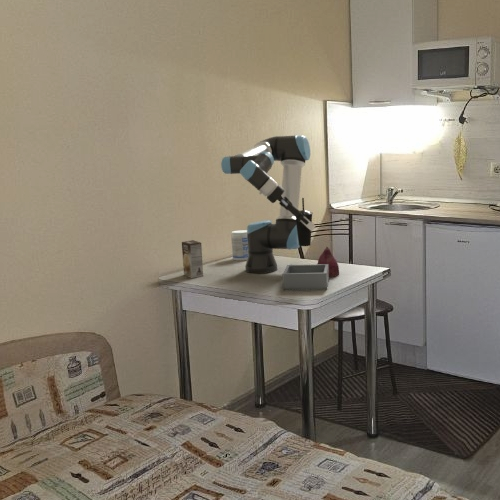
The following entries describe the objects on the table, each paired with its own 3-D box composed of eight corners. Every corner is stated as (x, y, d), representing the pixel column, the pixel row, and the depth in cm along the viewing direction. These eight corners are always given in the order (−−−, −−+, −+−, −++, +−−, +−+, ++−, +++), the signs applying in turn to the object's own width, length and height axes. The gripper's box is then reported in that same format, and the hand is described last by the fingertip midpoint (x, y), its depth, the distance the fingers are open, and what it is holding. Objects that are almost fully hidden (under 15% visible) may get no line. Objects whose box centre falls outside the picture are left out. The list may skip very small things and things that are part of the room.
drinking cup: (294, 244, 296) (292, 197, 293) (312, 243, 297) (310, 196, 294) (297, 247, 289) (295, 199, 286) (315, 246, 290) (313, 198, 286)
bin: (287, 280, 307) (287, 265, 306) (329, 279, 304) (328, 264, 303) (283, 290, 289) (282, 274, 288) (327, 289, 286) (326, 273, 285)
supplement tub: (247, 261, 354) (245, 233, 351) (229, 261, 357) (228, 232, 355) (253, 257, 363) (252, 229, 360) (236, 257, 366) (235, 229, 364)
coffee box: (183, 275, 330) (180, 241, 327) (195, 273, 333) (193, 239, 330) (191, 278, 322) (189, 244, 319) (204, 276, 326) (201, 242, 323)
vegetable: (337, 284, 309) (340, 253, 302) (314, 281, 311) (316, 251, 304) (339, 273, 318) (342, 243, 312) (317, 270, 320) (319, 241, 314)
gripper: (264, 195, 299) (304, 230, 302) (266, 199, 280) (308, 237, 283) (276, 182, 298) (316, 217, 301) (279, 185, 279) (321, 224, 282)
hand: (312, 227), depth 292 cm, fingers closed on drinking cup, 7 cm apart
